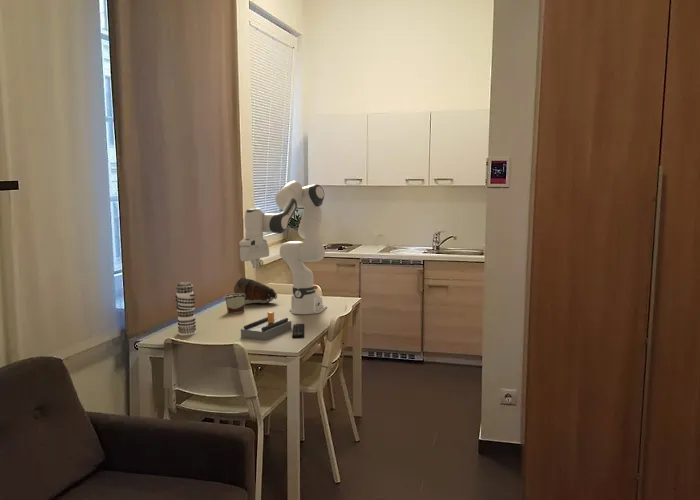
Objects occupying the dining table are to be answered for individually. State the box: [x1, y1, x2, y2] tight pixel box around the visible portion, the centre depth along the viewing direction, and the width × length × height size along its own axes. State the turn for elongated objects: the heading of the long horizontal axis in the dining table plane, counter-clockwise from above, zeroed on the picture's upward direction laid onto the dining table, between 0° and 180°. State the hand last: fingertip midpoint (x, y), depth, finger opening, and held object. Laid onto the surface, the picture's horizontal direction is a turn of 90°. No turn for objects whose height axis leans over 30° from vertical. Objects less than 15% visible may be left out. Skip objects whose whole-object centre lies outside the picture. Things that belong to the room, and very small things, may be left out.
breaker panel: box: [240, 318, 292, 341], centre depth 291 cm, size 22×14×4 cm, turn 153°
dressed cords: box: [243, 316, 289, 331], centre depth 291 cm, size 22×12×2 cm, turn 153°
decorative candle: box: [174, 281, 197, 336], centre depth 294 cm, size 9×9×25 cm
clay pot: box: [233, 277, 278, 305], centre depth 358 cm, size 15×15×25 cm
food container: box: [223, 292, 246, 315], centre depth 339 cm, size 12×6×10 cm, turn 123°
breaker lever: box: [267, 311, 275, 323], centre depth 294 cm, size 2×2×5 cm
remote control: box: [292, 323, 305, 339], centre depth 293 cm, size 5×24×1 cm, turn 4°
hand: (255, 267), depth 306 cm, fingers closed
